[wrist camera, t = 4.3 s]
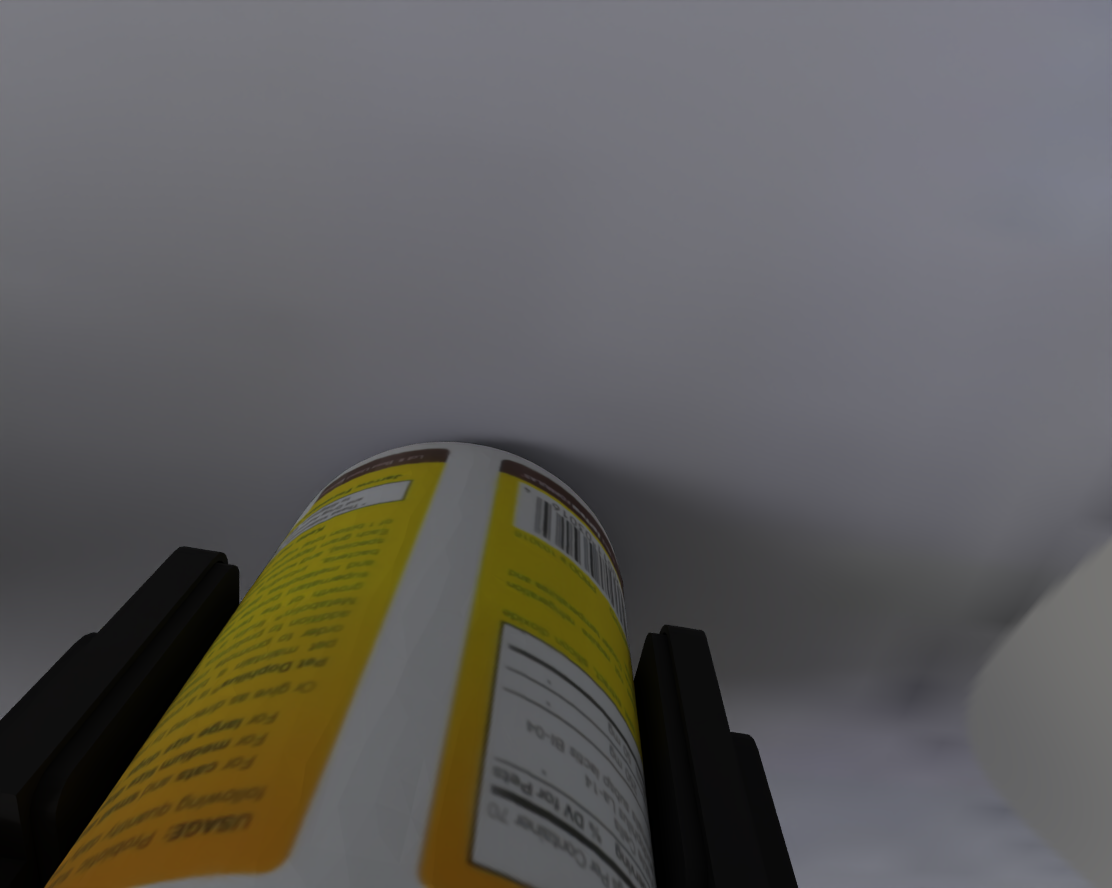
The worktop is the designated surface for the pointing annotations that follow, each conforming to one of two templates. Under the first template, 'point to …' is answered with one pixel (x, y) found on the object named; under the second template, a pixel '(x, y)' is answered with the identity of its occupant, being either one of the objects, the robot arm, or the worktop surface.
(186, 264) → the worktop surface
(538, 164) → the worktop surface
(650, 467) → the worktop surface
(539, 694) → the supplement bottle
